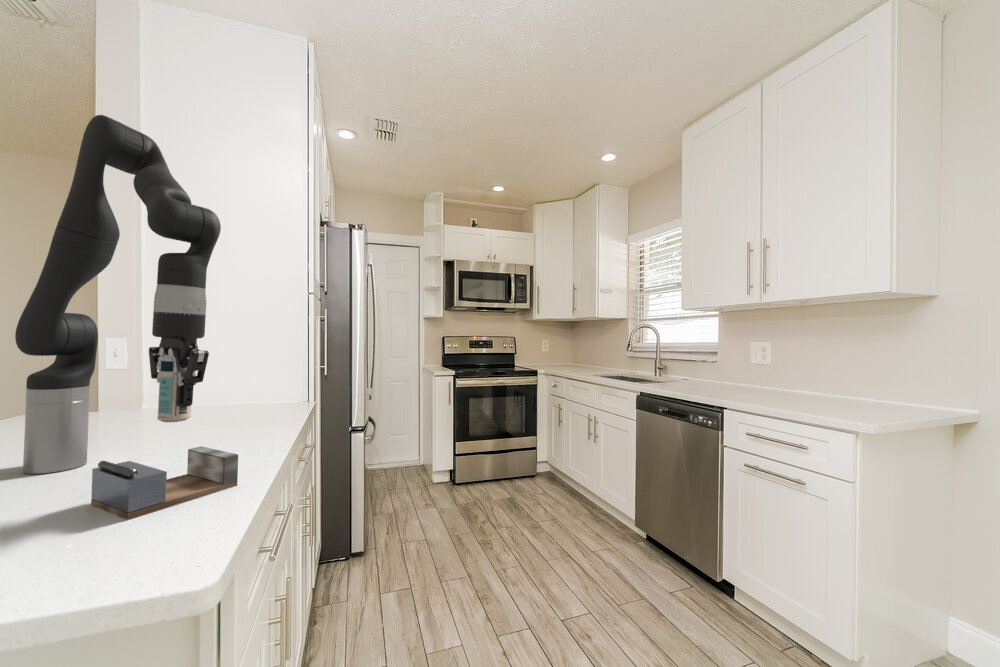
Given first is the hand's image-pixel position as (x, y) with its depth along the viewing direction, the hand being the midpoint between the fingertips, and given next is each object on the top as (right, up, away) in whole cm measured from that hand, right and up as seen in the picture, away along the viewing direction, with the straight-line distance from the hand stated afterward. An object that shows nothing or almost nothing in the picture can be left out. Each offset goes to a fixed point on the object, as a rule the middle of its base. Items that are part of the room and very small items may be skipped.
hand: (175, 404), depth 73 cm
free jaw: (-3, -15, -5) cm, 16 cm away
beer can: (0, -3, 0) cm, 3 cm away
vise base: (-1, -16, 0) cm, 16 cm away
